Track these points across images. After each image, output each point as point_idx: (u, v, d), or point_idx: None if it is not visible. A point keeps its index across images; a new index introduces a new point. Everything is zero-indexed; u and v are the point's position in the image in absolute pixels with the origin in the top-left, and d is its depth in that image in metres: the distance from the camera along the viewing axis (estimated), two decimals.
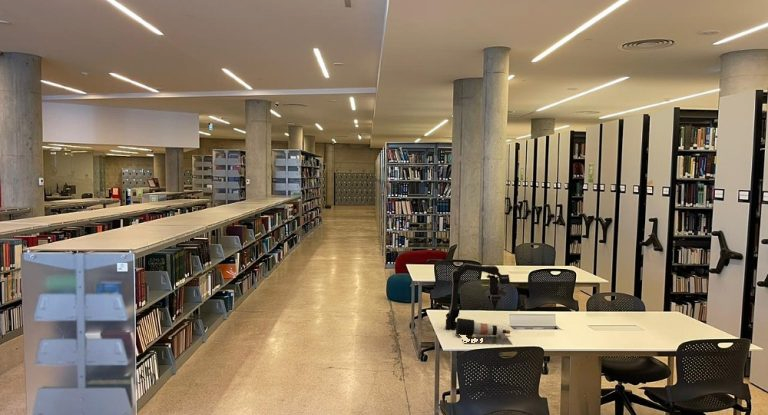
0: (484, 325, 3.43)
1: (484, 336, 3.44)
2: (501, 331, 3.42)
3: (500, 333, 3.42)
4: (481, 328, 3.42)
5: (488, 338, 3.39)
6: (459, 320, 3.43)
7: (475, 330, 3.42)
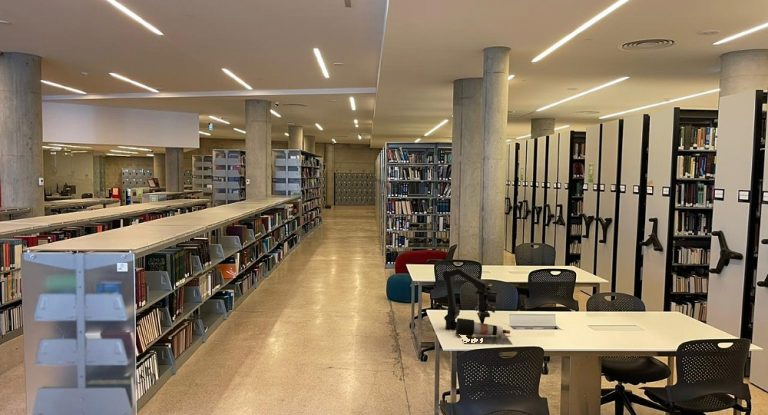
0: (484, 325, 3.43)
1: (484, 336, 3.44)
2: (501, 331, 3.42)
3: (500, 333, 3.42)
4: (481, 328, 3.42)
5: (488, 338, 3.39)
6: (459, 320, 3.42)
7: (475, 330, 3.42)
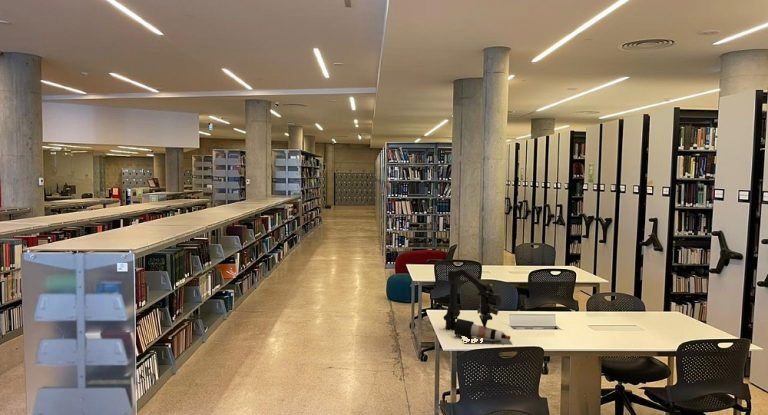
0: (482, 328, 3.36)
1: None
2: (499, 336, 3.32)
3: (498, 338, 3.32)
4: (479, 331, 3.36)
5: None
6: (457, 321, 3.41)
7: (472, 332, 3.37)
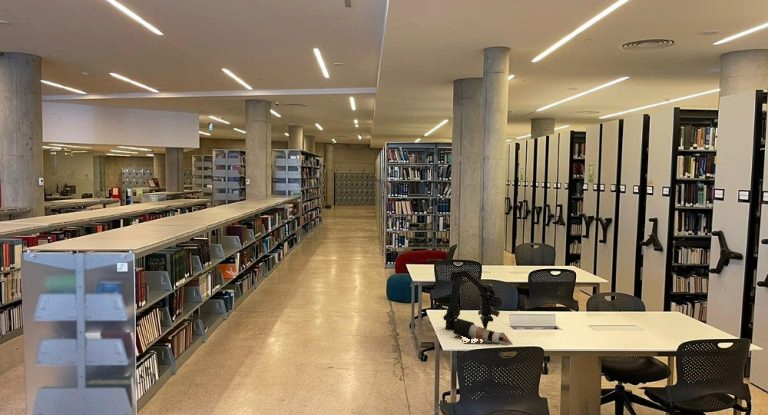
0: (481, 329, 3.34)
1: None
2: (496, 338, 3.27)
3: (495, 340, 3.27)
4: (477, 332, 3.34)
5: None
6: (456, 320, 3.41)
7: (470, 333, 3.35)
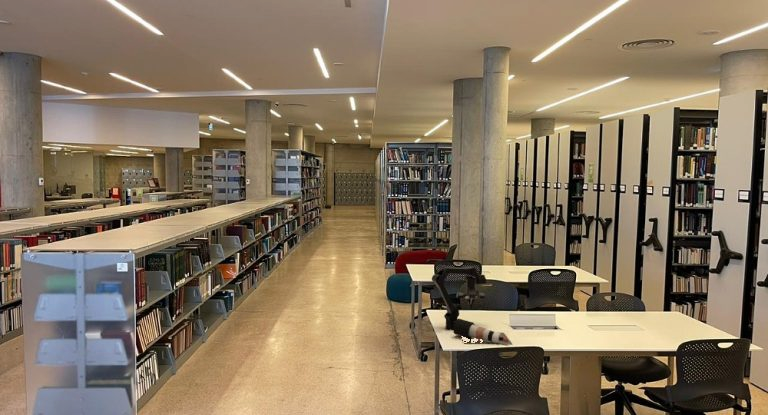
0: (481, 329, 3.34)
1: None
2: (496, 338, 3.27)
3: (495, 340, 3.27)
4: (477, 332, 3.34)
5: None
6: (456, 320, 3.42)
7: (470, 333, 3.35)
